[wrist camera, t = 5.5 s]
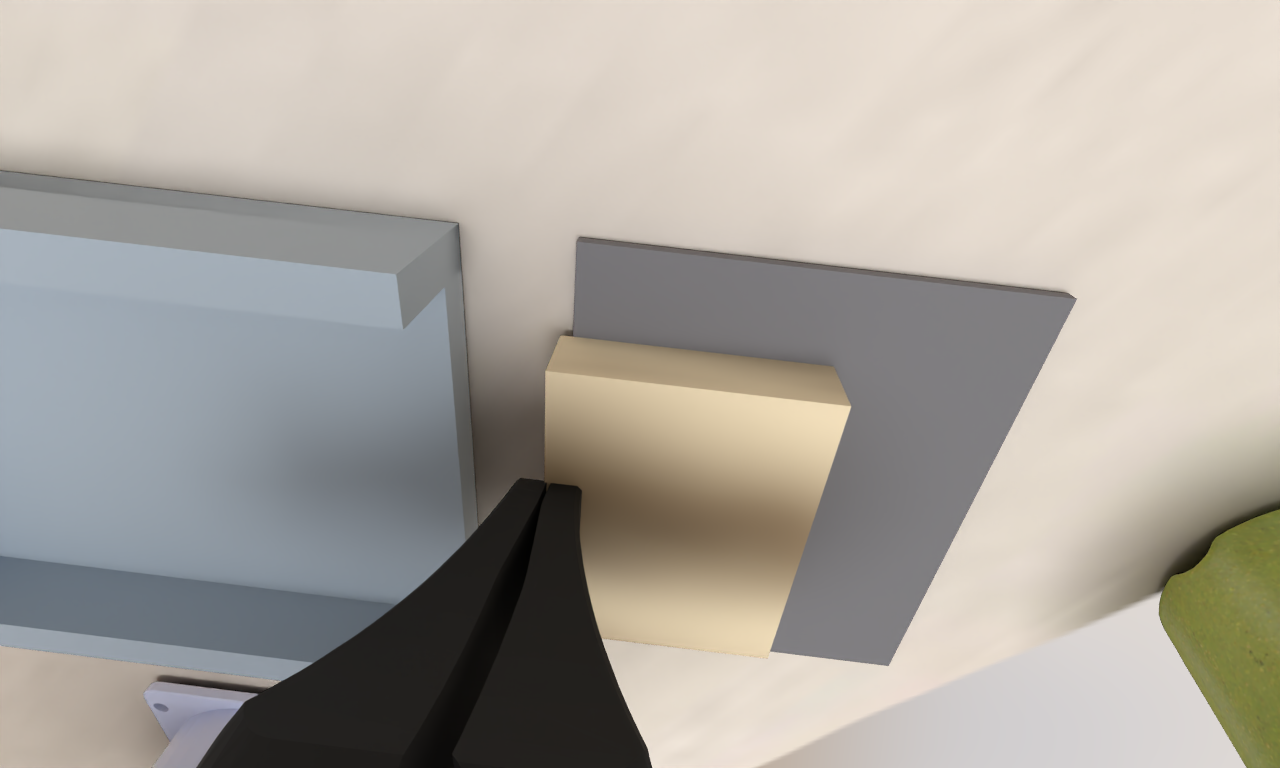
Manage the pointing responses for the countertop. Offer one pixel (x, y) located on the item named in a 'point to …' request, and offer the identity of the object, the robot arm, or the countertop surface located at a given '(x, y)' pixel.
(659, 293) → the charcoal mat
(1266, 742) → the plant pot
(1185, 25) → the countertop surface
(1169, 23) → the countertop surface
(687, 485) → the birch plate
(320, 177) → the countertop surface
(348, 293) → the slate tray
